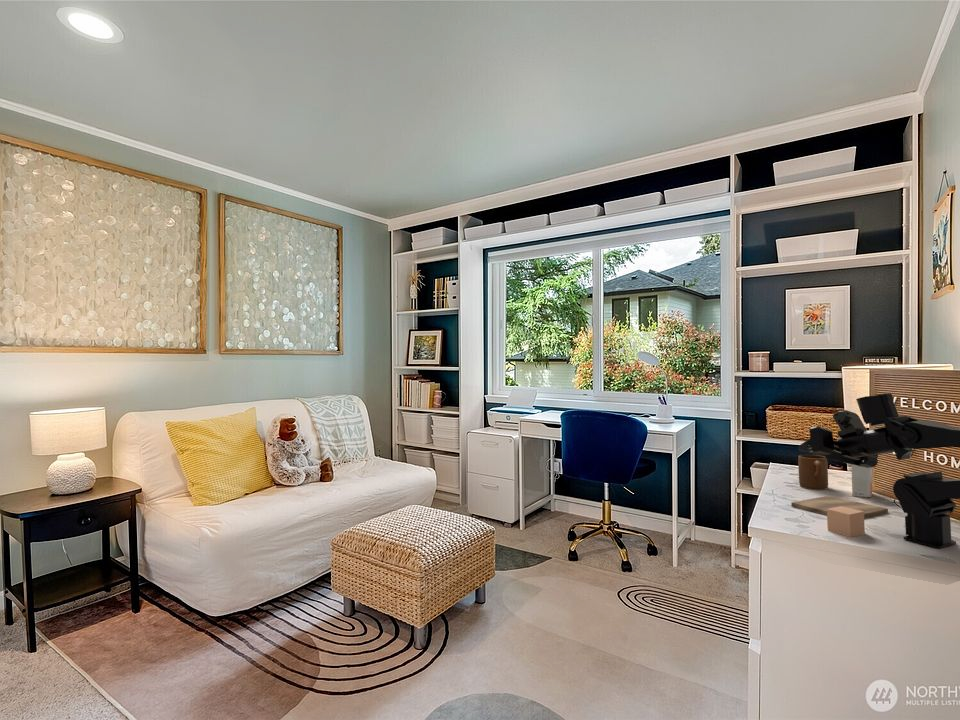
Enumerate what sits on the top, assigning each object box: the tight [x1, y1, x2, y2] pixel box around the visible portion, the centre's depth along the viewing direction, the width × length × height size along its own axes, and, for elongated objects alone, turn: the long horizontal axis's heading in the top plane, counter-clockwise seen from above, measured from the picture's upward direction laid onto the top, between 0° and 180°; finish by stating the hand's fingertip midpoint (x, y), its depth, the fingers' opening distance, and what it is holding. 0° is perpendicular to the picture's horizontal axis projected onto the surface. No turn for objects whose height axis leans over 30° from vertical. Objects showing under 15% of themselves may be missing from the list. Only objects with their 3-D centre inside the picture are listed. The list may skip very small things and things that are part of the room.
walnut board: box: [790, 495, 889, 519], centre depth 134 cm, size 15×15×1 cm
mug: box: [797, 454, 829, 491], centre depth 155 cm, size 12×8×9 cm, turn 160°
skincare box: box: [850, 461, 873, 498], centre depth 147 cm, size 6×4×12 cm
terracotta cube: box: [826, 506, 866, 538], centre depth 116 cm, size 5×5×5 cm
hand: (812, 452), depth 132 cm, fingers open, 9 cm apart
